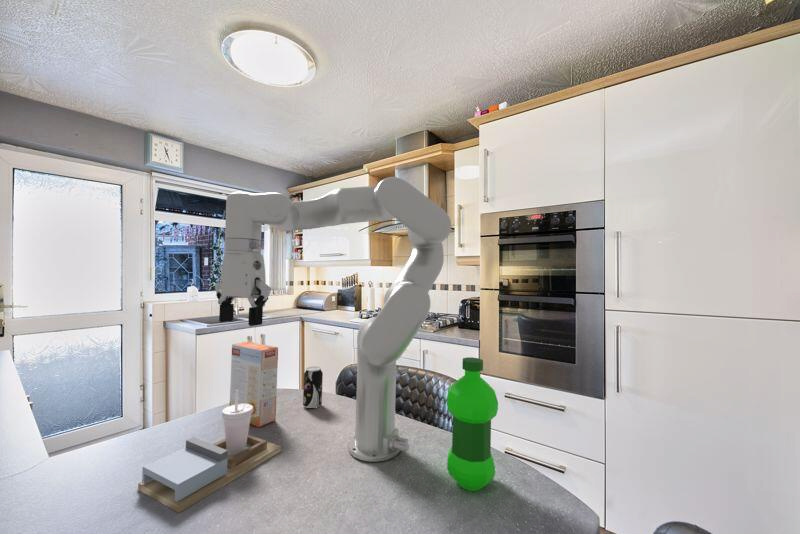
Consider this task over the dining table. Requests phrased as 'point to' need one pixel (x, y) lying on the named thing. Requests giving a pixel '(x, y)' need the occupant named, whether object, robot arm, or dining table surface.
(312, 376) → the beverage can
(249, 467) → the board
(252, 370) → the cracker box
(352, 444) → the robot arm
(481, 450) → the plastic bottle
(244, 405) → the smoothie
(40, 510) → the dining table surface
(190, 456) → the lid
